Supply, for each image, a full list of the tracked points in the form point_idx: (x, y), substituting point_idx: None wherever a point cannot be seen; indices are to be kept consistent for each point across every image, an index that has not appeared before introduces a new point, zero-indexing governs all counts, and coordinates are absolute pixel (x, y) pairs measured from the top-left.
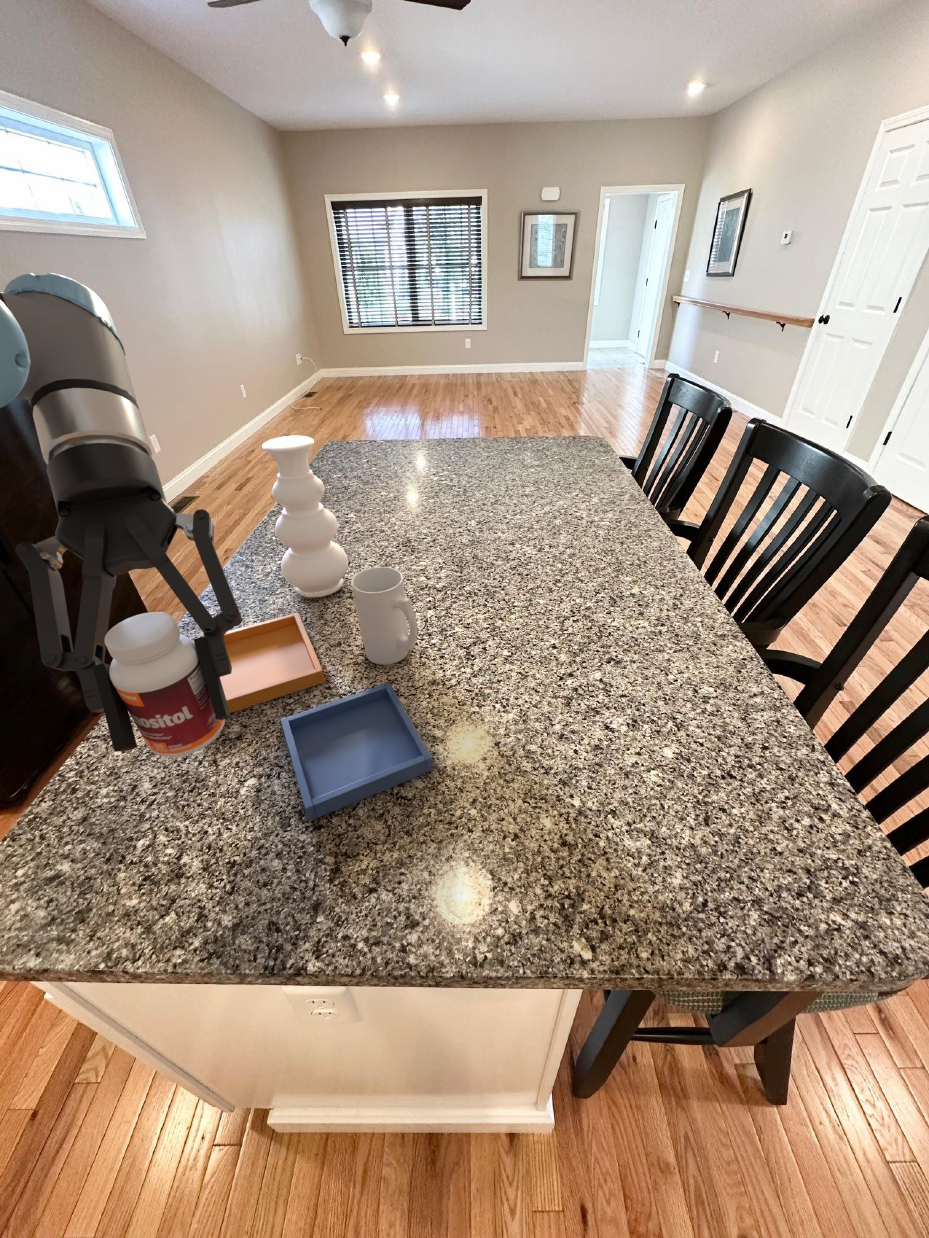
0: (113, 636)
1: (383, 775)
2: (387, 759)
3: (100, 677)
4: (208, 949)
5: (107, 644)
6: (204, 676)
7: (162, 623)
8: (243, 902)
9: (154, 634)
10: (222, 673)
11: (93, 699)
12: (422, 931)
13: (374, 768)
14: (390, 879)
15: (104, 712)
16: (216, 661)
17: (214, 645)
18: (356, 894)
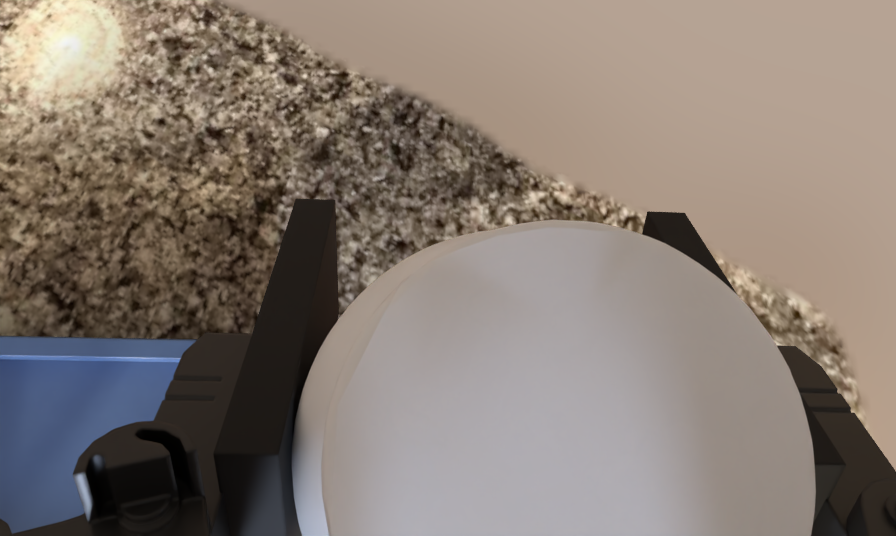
0: (755, 460)
1: (58, 341)
2: (31, 421)
3: None
4: (514, 176)
5: (781, 362)
6: (310, 300)
7: (408, 456)
8: (446, 230)
9: (468, 321)
10: (236, 334)
11: (798, 378)
12: (166, 25)
13: (76, 410)
14: (174, 136)
15: None
16: (232, 375)
17: (195, 440)
18: (245, 140)
